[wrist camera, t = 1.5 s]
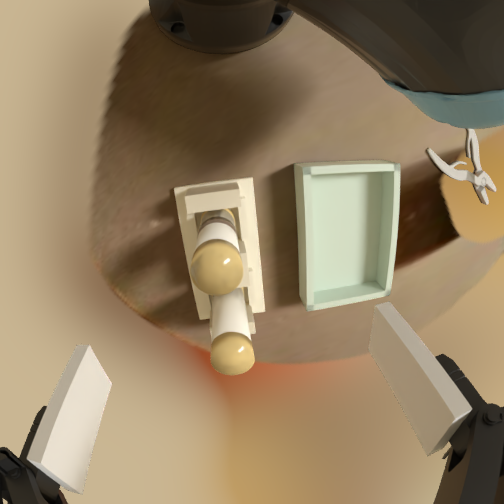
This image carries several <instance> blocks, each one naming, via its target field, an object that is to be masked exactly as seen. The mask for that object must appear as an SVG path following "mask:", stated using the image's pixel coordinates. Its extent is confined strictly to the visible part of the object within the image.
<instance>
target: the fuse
mask: <svg viewBox="0 0 504 504" xmlns="http://www.w3.org/2000/svg"><path fill="white" fill-rule="evenodd" d="M212 297H213V300H212V344H211V364H212V366H213V367H214V369H216V370H217V371H218V372H220V373H223V374H226V375H237V374H242V373H244V372H246V371H248V370H249V369H250V368H251V367H252V366H253V364H254V360H255V359H254V352H253V346H252V342H251V337H250V331H249V324H248V318H247V312H246V305H245V299H244V289H243V287H241V288H236V289H234V290H233V291H232V292H230V293H228V294H224V295H212Z"/></svg>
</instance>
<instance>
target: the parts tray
mask: <svg viewBox="0 0 504 504" xmlns="http://www.w3.org/2000/svg"><path fill="white" fill-rule="evenodd" d="M294 177H295V193H296V211H297V232H298V258H299V296H300V298H301V300H302V302H303V305H304V307H305V309H306V311H313V310H318V309H324V308H329V307H335V306H340V305H345V304H350V303H355V302H360V301H365V300H370V299H375V298H379V297H384V296H389V295H390V292H391V285H392V278H393V270H394V262H395V253H396V243H397V232H398V218H399V200H400V164H399V163H395V162H391V161H386V160H351V161H326V162H308V163H294Z"/></svg>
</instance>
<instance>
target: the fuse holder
mask: <svg viewBox="0 0 504 504" xmlns="http://www.w3.org/2000/svg"><path fill="white" fill-rule="evenodd" d="M174 192H175V198H176V204H177V210H178V216H179V222H180V227H181V233H182V238H183V243H184V249H185V254H186V259H187V264H188V269H189V273H190V267H191V262H192V257H193V254H194V251H195V246H196V242H197V236H198V231H199V228H200V221H201V217H202V214H203V212H204V211H211V210H219V209H227V208H230V209H231V211H232V212H233V214H234V217H235V227H236V231H237V237H238V245H239V251H240V255H241V259H242V264H243V278H242V281H241V283H240V284H239V286H238V287H237V288H241V287H243V289H244V299H245V305H246V312H247V318H248V324H249V331H250V334H255V333H256V331H255V323H254V317H253V313H258V312H265V306H264V294H263V283H262V272H261V261H260V251H259V240H258V229H257V219H256V208H255V198H254V188H253V178H252V177H245V178H237V179H228V180H220V181H213V182H205V183H198V184H191V185H185V186H178V187H175V188H174ZM190 278H191V276H190ZM191 283H192V288H193V292H194V297H195V301H196V305H197V310H198V314H199V318H200V320H202V319H210V327H209V328H210V332H211V336H212V300H213V297H212V295H209V294H206V293H204V292H202V291H201V290H199V289H198V288H197V287H196V286H195V285H194V283H193V281H192V279H191Z"/></svg>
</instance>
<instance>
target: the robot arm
mask: <svg viewBox="0 0 504 504" xmlns="http://www.w3.org/2000/svg"><path fill="white" fill-rule="evenodd" d="M149 6H150V10H151V13H152V16H153V18H154V20H155V21H156V23H157V25H158V26H159V28H160V29H161V31H162V32H163V33H164V34H165V35H166V36H167V37H168V38H170V39H171V40H172V41H174V42H176V43H177V44H179V45H181V46H183V47H186V48H188V49H191V50H195V51H199V52H204V53H214V54H225V53H235V52H241V51H245V50H249V49H252V48H255V47H257V46H260V45H262V44H264V43H266V42H267V41H269V40H271V39H272V38H274V37H275V36H276V35H277V34H279V33H280V32H281V31H282V30H283V28H284V27H285V26H286V25H287V23H288V22H289V20H290V18H291V17H292V15H293V13H294V12H295V13H296V14H298V15H300V16H301V17H303V18H305V19H306V20H308V21H310V22H311V23H313V24H314V25H316V26H318V27H319V28H321V29H322V30H324V31H325V32H327V33H328V34H330V35H331V36H332V37H334V38H335V39H337V40H338V41H340V42H341V43H342V44H344V45H345V46H346V47H348V48H349V49H350V50H351V51H353V52H354V53H355V54H356V55H358V56H359V57H360V58H361V59H363V60H364V61H365V62H366V63H367V64H369V65H370V66H371V67H372V68H373V69H374V70H376V71H377V72H378V73H379V75H380V76H381V77H382V79H383V80H384V81H385V82H386V83H387V84H388V85H389V86H391V87H392V88H394V89H395V90H397V91H399V92H401V93H403V94H404V95H405V96H406V97H407V98H408V99H409V100H410V101H411V102H412V103H414V104H415V105H416V106H417V107H418V108H419V109H420V110H421V111H422V112H423V113H425V114H426V115H427V116H429V117H431V118H432V119H434V120H436V121H438V122H442V123H448V124H450V125H452V126H455V127H458V128H467V129H484V128H492V127H497V126H501V125H504V0H149ZM368 350H369V352H370V354H371V355H372V357H373V359H374V360H375V362H376V364H377V365H378V367H379V369H380V371H381V372H382V374H383V376H384V377H385V379H386V381H387V383H388V384H389V386H390V388H391V390H392V391H393V393H394V395H395V397H396V398H397V400H398V402H399V404H400V406H401V408H402V410H403V411H404V413H405V415H406V417H407V419H408V421H409V422H410V424H411V426H412V428H413V430H414V432H415V434H416V436H417V437H418V439H419V441H420V443H421V445H422V447H423V449H424V451H425V453H426V455H427V456H429V455H431V454H433V453H435V452H437V451H439V450H440V449H442V448H443V447H444V446H445V445H446V444H447V443H448V441H449V442H450V444H451V445H452V446H451V447H450V448H449V450H448V451H447V452H446V453H445V454H444V456H443V458H442V459H445V458H446V457H447V456H448V459H447V462H446V466H445V470H444V473H443V477H442V480H441V483H440V486H439V489H438V492H437V495H436V498H435V501H434V504H504V407H499V406H498V405H496V404H487V403H486V402H485V401H484V400H483V399H482V397H481V396H480V395H479V393H478V392H477V391H476V389H475V388H474V386H473V385H472V384H471V383H470V381H469V380H468V379H467V378H466V377H465V375H464V374H463V372H462V371H461V370H460V368H459V367H458V366H457V365H456V363H455V362H454V361H453V360H452V359H450V358H449V357H447V356H446V355H444V354H441V355H439V356H436V357H434V356H433V354H432V353H431V352H430V350H429V349H428V348H427V347H426V345H425V344H424V343H423V342H422V341H421V339H420V338H419V337H418V335H417V334H416V333H415V332H414V330H413V329H412V328H411V327H410V326H409V324H408V323H407V322H406V321H405V319H404V318H403V317H402V316H401V315H400V313H399V312H398V311H397V310H396V309H395V308H394V306H393V305H392V304H391V303H390V302H386V303H382V304H378V305H375V309H374V316H373V323H372V330H371V336H370V343H369V348H368ZM111 386H112V383H111V382H110V380H109V378H108V377H107V375H106V373H105V372H104V370H103V368H102V366H101V365H100V363H99V361H98V359H97V358H96V356H95V354H94V352H93V351H92V348H91V347H90V345H77V346H76V348H75V350H74V352H73V354H72V356H71V358H70V360H69V361H68V363H67V365H66V368H65V369H64V371H63V373H62V376H61V378H60V380H59V382H58V384H57V386H56V388H55V390H54V392H53V395H52V397H51V399H50V401H49V404H48V406H43V407H42V409H41V410H40V411H39V412H38V413H37V415H36V417H35V420H34V422H33V425H32V427H31V429H30V432H29V434H28V437H27V439H26V442H25V444H24V447H23V449H22V452H21V455H20V457H19V458H17V456H15V455H14V454H13V453H12V452H11V451H10V450H9V449H8V448H5V447H1V448H0V504H3V499H5V500H6V501H7V502H8V504H68V503H67V501H66V499H65V497H64V495H63V493H62V492H61V490H59V488H60V485H61V486H62V487H64V488H65V489H66V490H68V491H71V492H74V493H78V494H83V491H84V486H85V481H86V476H87V472H88V467H89V463H90V459H91V455H92V451H93V447H94V443H95V439H96V436H97V432H98V429H99V425H100V422H101V418H102V415H103V412H104V408H105V405H106V402H107V398H108V395H109V392H110V389H111ZM2 498H3V499H2Z"/></svg>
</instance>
